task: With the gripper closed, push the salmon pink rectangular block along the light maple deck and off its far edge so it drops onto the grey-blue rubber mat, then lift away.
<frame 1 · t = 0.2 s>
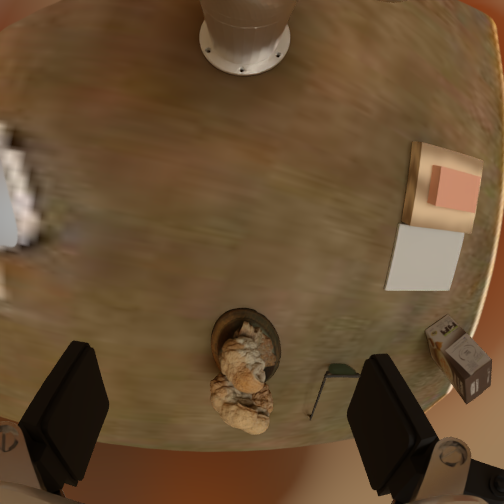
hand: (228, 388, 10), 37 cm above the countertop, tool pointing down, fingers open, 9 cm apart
coffee box: (439, 335, 55), on the countertop
salmon pink rectangular block: (455, 189, 40), point 4 cm above the countertop, touching deck
mat: (426, 259, 49), on the countertop
sunglasses: (344, 390, 59), on the countertop
deck: (440, 188, 45), on the countertop
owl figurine: (247, 349, 53), on the countertop
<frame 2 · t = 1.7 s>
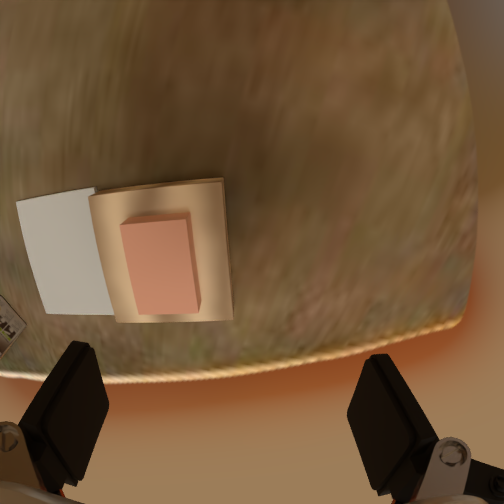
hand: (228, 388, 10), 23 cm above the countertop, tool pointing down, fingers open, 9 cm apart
coffee box: (5, 322, 35), on the countertop
salmon pink rectangular block: (162, 265, 28), point 4 cm above the countertop, touching deck
mat: (66, 256, 32), on the countertop
deck: (166, 249, 32), on the countertop
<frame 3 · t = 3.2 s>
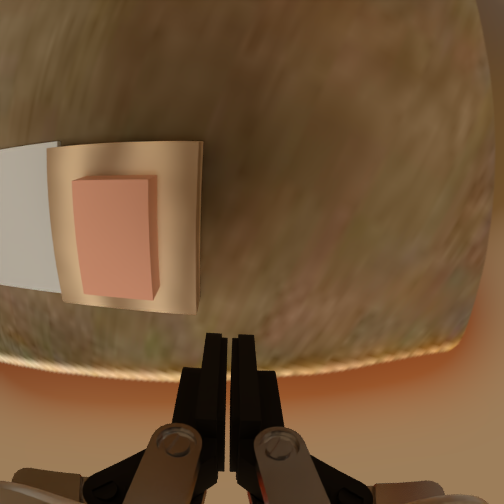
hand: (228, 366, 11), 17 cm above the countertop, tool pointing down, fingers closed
salmon pink rectangular block: (116, 236, 22), point 4 cm above the countertop, touching deck
mat: (21, 220, 25), on the countertop
deck: (128, 222, 26), on the countertop
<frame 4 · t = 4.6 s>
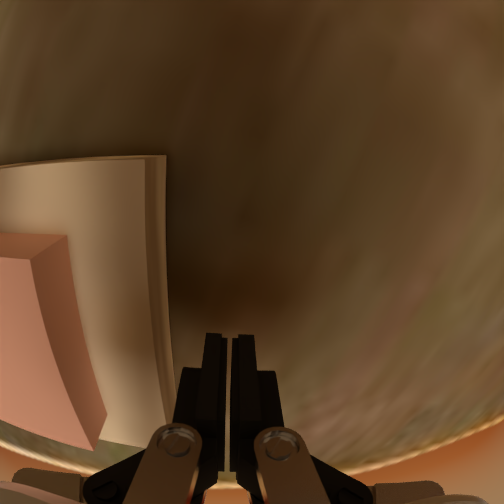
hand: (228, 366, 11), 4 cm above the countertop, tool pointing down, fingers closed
salmon pink rectangular block: (17, 347, 10), point 4 cm above the countertop, touching deck
deck: (51, 299, 14), on the countertop
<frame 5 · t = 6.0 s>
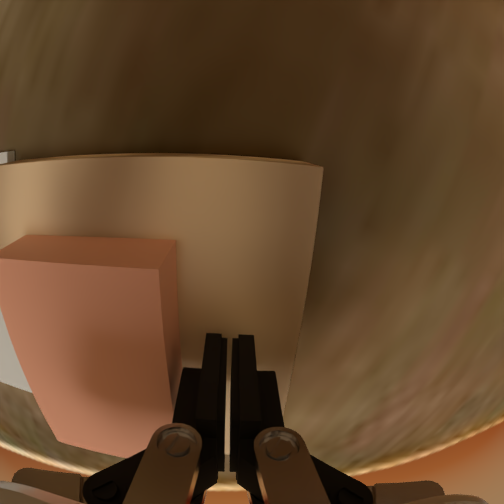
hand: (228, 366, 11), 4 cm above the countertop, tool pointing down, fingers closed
salmon pink rectangular block: (98, 364, 10), point 4 cm above the countertop, touching deck, gripper
deck: (145, 308, 14), on the countertop
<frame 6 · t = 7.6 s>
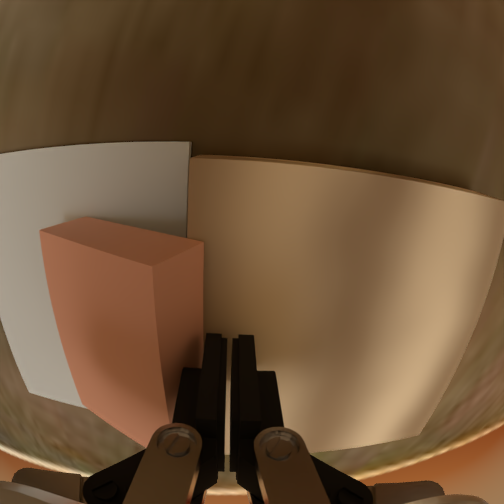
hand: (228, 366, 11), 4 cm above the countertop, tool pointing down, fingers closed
salmon pink rectangular block: (123, 346, 11), point 3 cm above the countertop, tilted 27°, touching gripper
mat: (77, 301, 14), on the countertop
deck: (335, 317, 14), on the countertop
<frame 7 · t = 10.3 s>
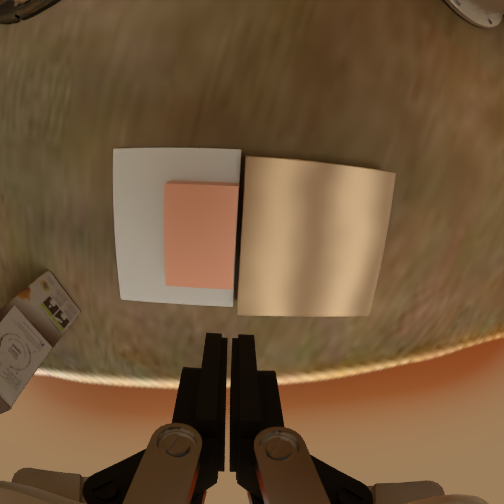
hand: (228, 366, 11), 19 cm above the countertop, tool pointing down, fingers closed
coffee box: (45, 306, 31), on the countertop
salmon pink rectangular block: (200, 234, 27), point 2 cm above the countertop, touching mat
mat: (174, 228, 29), on the countertop
deck: (309, 235, 29), on the countertop
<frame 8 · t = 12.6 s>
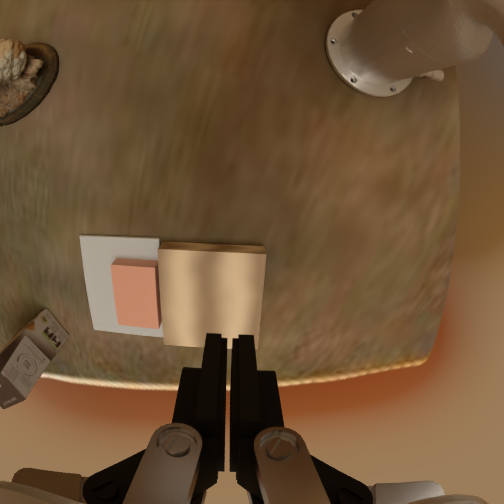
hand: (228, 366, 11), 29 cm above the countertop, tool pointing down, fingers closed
coffee box: (45, 330, 44), on the countertop
salmon pink rectangular block: (137, 293, 40), point 2 cm above the countertop, touching mat
mat: (123, 287, 41), on the countertop
deck: (212, 293, 42), on the countertop
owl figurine: (14, 86, 30), on the countertop
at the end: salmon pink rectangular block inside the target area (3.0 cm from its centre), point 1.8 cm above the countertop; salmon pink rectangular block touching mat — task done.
